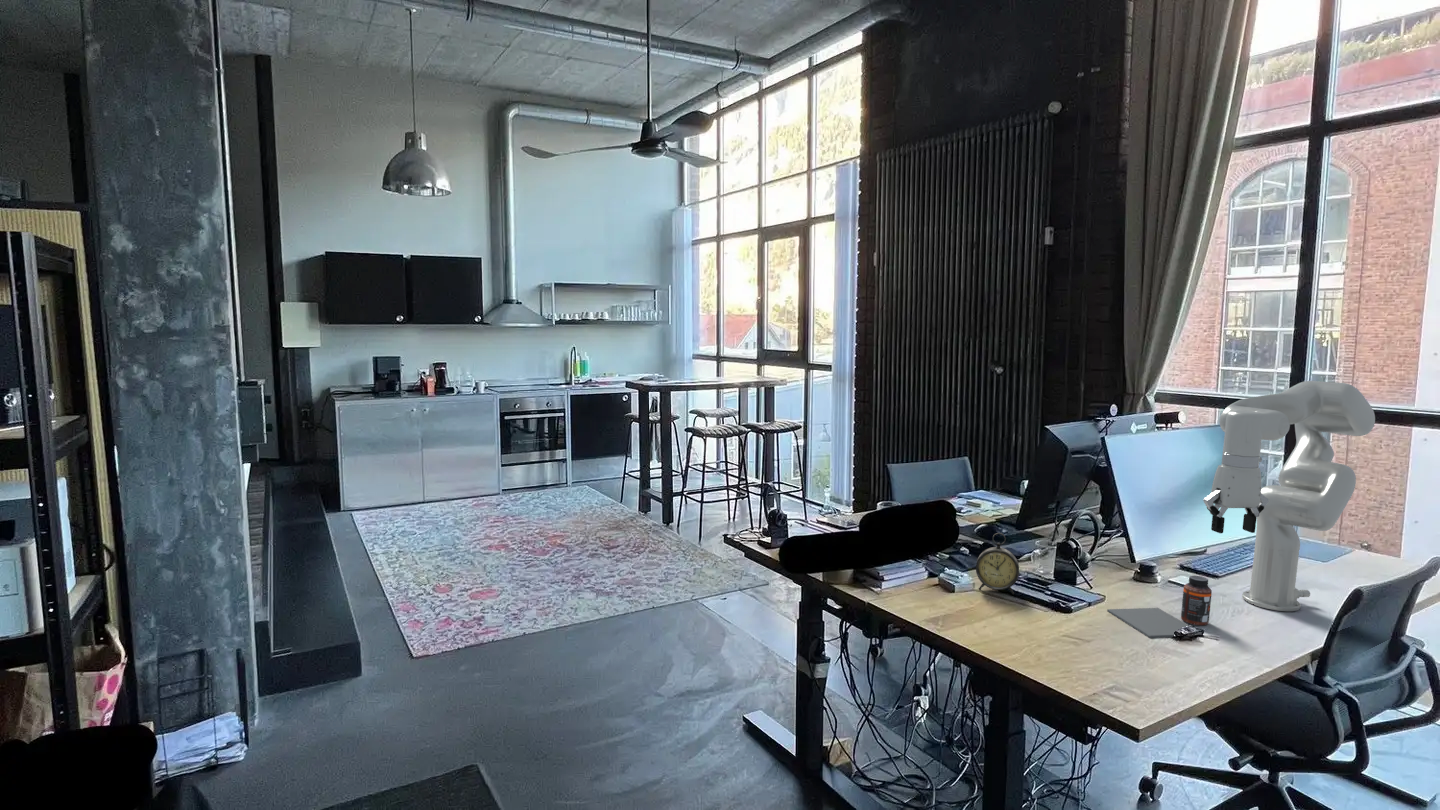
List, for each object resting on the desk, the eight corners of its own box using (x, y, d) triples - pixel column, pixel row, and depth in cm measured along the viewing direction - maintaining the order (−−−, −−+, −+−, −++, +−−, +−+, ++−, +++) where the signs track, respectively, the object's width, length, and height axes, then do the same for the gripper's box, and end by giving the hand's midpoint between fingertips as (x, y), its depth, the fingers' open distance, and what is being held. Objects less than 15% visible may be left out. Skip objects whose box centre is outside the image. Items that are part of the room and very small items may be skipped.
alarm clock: (974, 590, 210) (977, 532, 208) (975, 584, 214) (979, 527, 212) (1017, 597, 205) (1021, 538, 203) (1017, 590, 210) (1021, 532, 208)
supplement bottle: (1212, 627, 188) (1217, 583, 186) (1185, 625, 189) (1190, 580, 187) (1202, 618, 194) (1207, 574, 192) (1176, 615, 195) (1181, 572, 193)
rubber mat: (1157, 609, 199) (1157, 607, 199) (1203, 635, 183) (1203, 633, 183) (1107, 611, 197) (1107, 609, 197) (1149, 637, 181) (1149, 635, 181)
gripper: (1260, 458, 192) (1252, 526, 194) (1196, 458, 190) (1189, 527, 192) (1285, 464, 185) (1277, 535, 187) (1219, 464, 182) (1211, 536, 185)
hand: (1232, 531), depth 189 cm, fingers open, 7 cm apart
